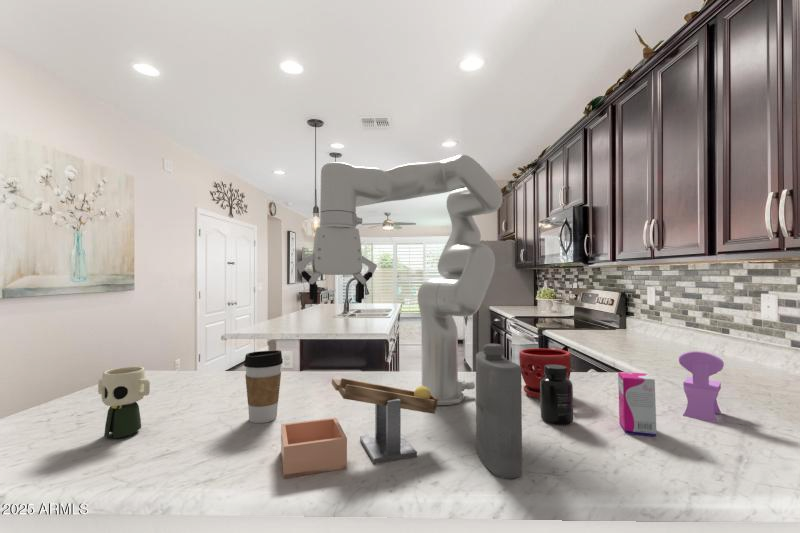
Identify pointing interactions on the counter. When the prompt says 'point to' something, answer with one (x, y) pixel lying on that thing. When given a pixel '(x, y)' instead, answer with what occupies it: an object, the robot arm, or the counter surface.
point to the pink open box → (312, 447)
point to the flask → (498, 412)
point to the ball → (422, 392)
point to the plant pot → (540, 366)
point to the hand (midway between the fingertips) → (336, 302)
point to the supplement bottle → (556, 396)
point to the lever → (383, 395)
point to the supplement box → (637, 403)
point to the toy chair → (701, 384)
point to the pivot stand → (388, 435)
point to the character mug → (123, 399)
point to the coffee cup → (263, 384)
